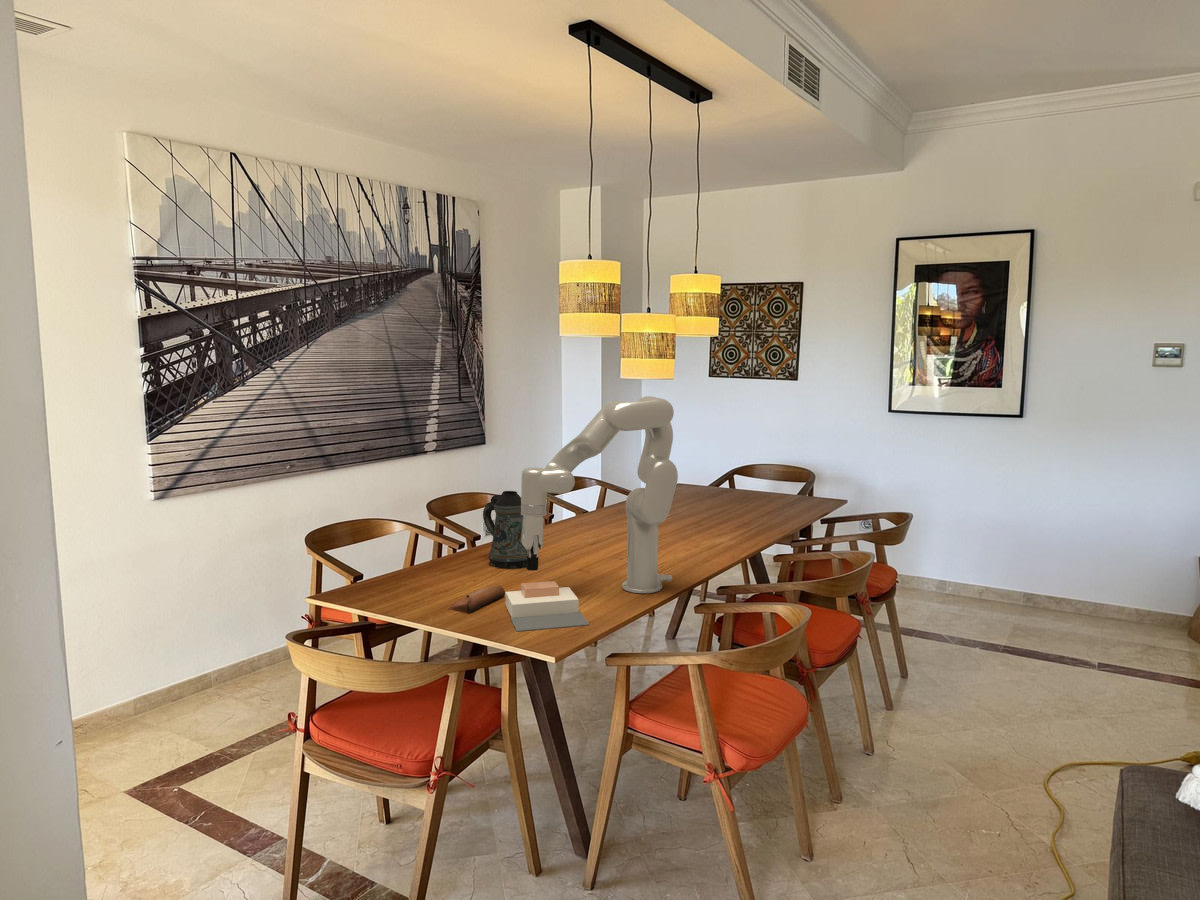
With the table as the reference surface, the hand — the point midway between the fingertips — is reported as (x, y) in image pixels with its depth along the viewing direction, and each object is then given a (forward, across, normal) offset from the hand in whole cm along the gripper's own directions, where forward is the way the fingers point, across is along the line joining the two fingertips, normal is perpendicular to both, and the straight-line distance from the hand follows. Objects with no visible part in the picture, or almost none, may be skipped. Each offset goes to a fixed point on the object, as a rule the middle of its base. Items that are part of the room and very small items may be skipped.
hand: (532, 569), depth 243 cm
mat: (+9, +22, +1) cm, 24 cm away
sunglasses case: (+10, 0, -16) cm, 19 cm away
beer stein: (+9, -40, -1) cm, 41 cm away
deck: (+9, +10, +1) cm, 14 cm away
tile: (+4, +8, +1) cm, 9 cm away
